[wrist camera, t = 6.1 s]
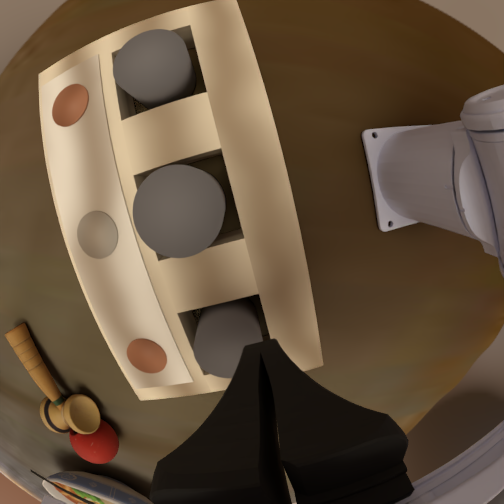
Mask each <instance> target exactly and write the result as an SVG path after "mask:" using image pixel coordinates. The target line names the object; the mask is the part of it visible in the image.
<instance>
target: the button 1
mask: <svg viewBox="0 0 504 504" xmlns="http://www.w3.org/2000/svg"><path fill="white" fill-rule="evenodd" d="M113 76H114V79H115V81H116V83H117V84H118V85H119V86H120V87H121V88H122V89H124V90H125V91H126V92H127V93H129V94H130V95H131V96H132V97H134V98H135V99H136V100H137V101H139V102H140V103H141V104H142V105H144V106H145V107H146V108H148V109H153V108H156V107H159V106H162V105H165V104H168V103H171V102H174V101H177V100H181V99H184V98H187V97H190V96H191V94H192V92H193V90H194V88H195V85H196V74H195V71H194V68H193V65H192V62H191V60H190V57H189V54H188V51H187V48H186V45H185V43H184V41H183V39H182V38H181V37H180V36H179V35H178V34H176V33H175V32H172V31H169V30H165V29H154V30H149V31H145V32H143V33H140V34H138V35H136V36H134V37H133V38H131V39H130V40H129V41H128V42H126V43H125V44H124V45H123V47H122V48H121V49H120V50H119V52H118V54H117V56H116V58H115V60H114V64H113Z"/></svg>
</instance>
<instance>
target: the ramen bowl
mask: <svg viewBox="0 0 504 504" xmlns="http://www.w3.org/2000/svg"><path fill="white" fill-rule="evenodd" d="M31 472H33V473H34V474H36V475H37V476H39V477H40V478H42V479H43V483H42V485H43V486H44V487H45V489H46V490H47V491H48V492H49V493H50V494H51V495H52V496H53V497H55V498H56V499H58V500H61V501H63V502H65V503H67V504H153V503H152V502H151V501H150V500H149V499H147V498H146V497H145V496H143V495H141V494H140V493H138V492H136V491H134V490H133V489H131V488H130V487H128V486H127V485H125V484H124V483H122V482H120V481H118V480H115V479H113V478H110V477H107V476H102V475H95V474H91V473H87V472H83V471H64V472H60V473H56V474H54V475H51V476H49V477H47V478H46V479H45V478H44V477H42V476H40V475H39V474H37V473H35V472H34V471H32V470H31Z"/></svg>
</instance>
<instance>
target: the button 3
mask: <svg viewBox="0 0 504 504" xmlns="http://www.w3.org/2000/svg"><path fill="white" fill-rule="evenodd" d="M262 341H263V339H262V334H261V329H260V324H259V319H258V314H257V310H256V308H255V306H254V304H253V303H252V302H251V301H250V300H249V299H248V298H247V297H244V298H240V299H236V300H232V301H228V302H223V303H219V304H215V305H211V306H207V307H202V309H201V312H200V317H199V322H198V327H197V331H196V336H195V341H194V347H193V352H194V357H195V359H196V361H197V363H198V364H199V366H200V367H201V368H202V369H204V370H205V371H206V372H208V373H209V374H211V375H214V376H217V377H220V378H232V377H233V375H234V373H235V370H236V368H237V365H238V363H239V360H240V357H241V354H242V351H243V348H244V346H245V345H249V344H253V343H258V342H262Z"/></svg>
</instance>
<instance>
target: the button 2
mask: <svg viewBox="0 0 504 504" xmlns="http://www.w3.org/2000/svg"><path fill="white" fill-rule="evenodd" d="M225 209H226V198H225V193H224V190H223V188H222V186H221V185H220V183H219V182H218V181H217V179H216V178H215V177H213V176H212V175H211V174H209V173H207V172H205V171H203V170H200V169H197V168H194V167H191V166H188V165H177V164H176V165H169V166H165V167H162V168H160V169H158V170H156V171H154V172H153V173H151V174H150V175H149V176H148V177H147V178H146V179H145V180H144V181H143V182H142V184H141V185H140V187H139V188H138V190H137V192H136V195H135V198H134V202H133V220H134V225H135V228H136V230H137V232H138V234H139V236H140V238H141V239H142V240H143V242H144V243H145V244H146V245H147V246H148V247H149V248H151V249H152V250H153V251H155V252H157V253H159V254H161V255H163V256H166V257H171V258H186V257H190V256H193V255H196V254H198V253H200V252H202V251H203V250H205V249H206V248H207V247H208V246H210V245H211V243H212V242H213V241H214V240H215V238H216V237H217V235H218V233H219V231H220V229H221V226H222V223H223V219H224V214H225Z"/></svg>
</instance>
